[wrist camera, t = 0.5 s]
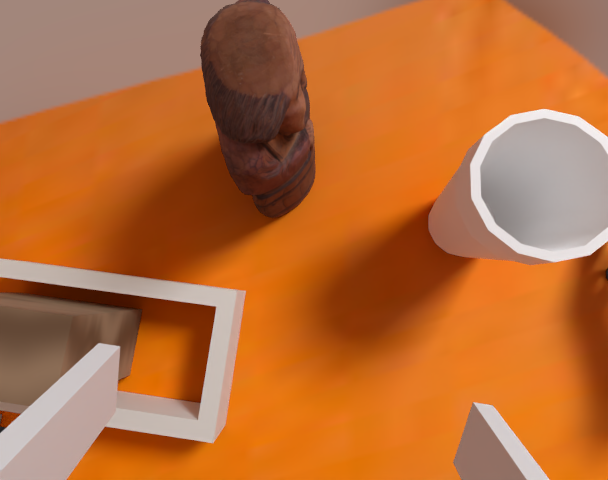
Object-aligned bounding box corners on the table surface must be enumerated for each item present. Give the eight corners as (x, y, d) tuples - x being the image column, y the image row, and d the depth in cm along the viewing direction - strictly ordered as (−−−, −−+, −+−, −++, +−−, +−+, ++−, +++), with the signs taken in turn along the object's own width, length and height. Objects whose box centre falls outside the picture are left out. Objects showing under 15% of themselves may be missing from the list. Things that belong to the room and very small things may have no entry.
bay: (225, 424, 32) (213, 443, 28) (-3, 390, 33) (-46, 403, 29) (245, 290, 34) (237, 290, 30) (28, 261, 35) (-9, 257, 31)
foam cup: (512, 275, 34) (636, 264, 21) (412, 271, 34) (473, 259, 21) (507, 176, 35) (621, 110, 22) (411, 174, 35) (468, 107, 22)
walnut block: (130, 374, 33) (52, 409, 23) (6, 356, 34) (-121, 383, 24) (142, 309, 34) (73, 316, 24) (21, 292, 35) (-95, 292, 25)
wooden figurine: (322, 213, 35) (333, 132, 17) (258, 225, 35) (200, 155, 17) (302, 101, 37) (292, -78, 19) (240, 112, 37) (172, -57, 19)
